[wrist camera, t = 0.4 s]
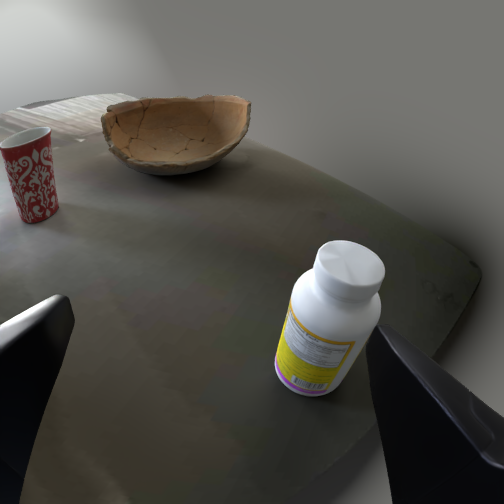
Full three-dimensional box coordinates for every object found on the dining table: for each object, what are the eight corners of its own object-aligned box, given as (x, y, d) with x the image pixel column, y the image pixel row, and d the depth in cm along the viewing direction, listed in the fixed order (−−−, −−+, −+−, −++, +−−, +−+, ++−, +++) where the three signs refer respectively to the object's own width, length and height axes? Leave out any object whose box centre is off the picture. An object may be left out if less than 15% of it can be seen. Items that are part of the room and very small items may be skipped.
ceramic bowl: (116, 193, 45) (110, 98, 38) (100, 165, 65) (96, 103, 58) (274, 170, 60) (278, 94, 53) (213, 149, 80) (214, 94, 73)
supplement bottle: (318, 331, 31) (357, 225, 23) (355, 380, 26) (418, 280, 18) (260, 353, 28) (283, 240, 20) (295, 411, 24) (345, 312, 16)
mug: (73, 207, 45) (60, 128, 37) (29, 233, 38) (8, 150, 30) (41, 189, 49) (30, 123, 41) (4, 210, 42) (-13, 141, 34)
